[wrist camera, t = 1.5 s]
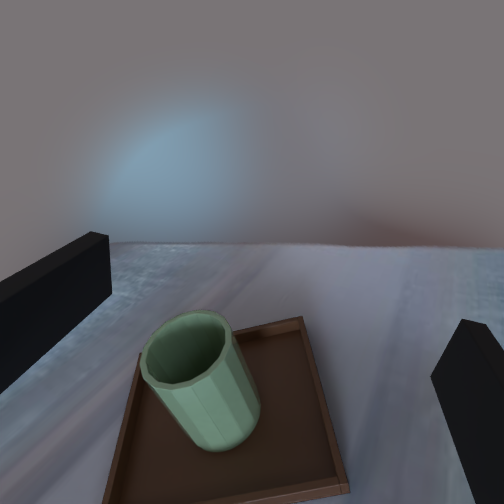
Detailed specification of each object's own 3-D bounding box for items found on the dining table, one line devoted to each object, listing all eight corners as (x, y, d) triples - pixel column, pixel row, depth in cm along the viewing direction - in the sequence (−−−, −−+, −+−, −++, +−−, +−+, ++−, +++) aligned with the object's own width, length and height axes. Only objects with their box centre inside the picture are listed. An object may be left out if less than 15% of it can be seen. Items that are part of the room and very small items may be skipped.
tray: (304, 325, 37) (302, 315, 36) (350, 492, 24) (348, 483, 23) (146, 362, 39) (139, 352, 38) (106, 537, 26) (94, 530, 24)
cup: (257, 368, 34) (230, 301, 28) (265, 443, 28) (232, 377, 22) (189, 383, 35) (149, 320, 29) (182, 460, 28) (130, 399, 23)
